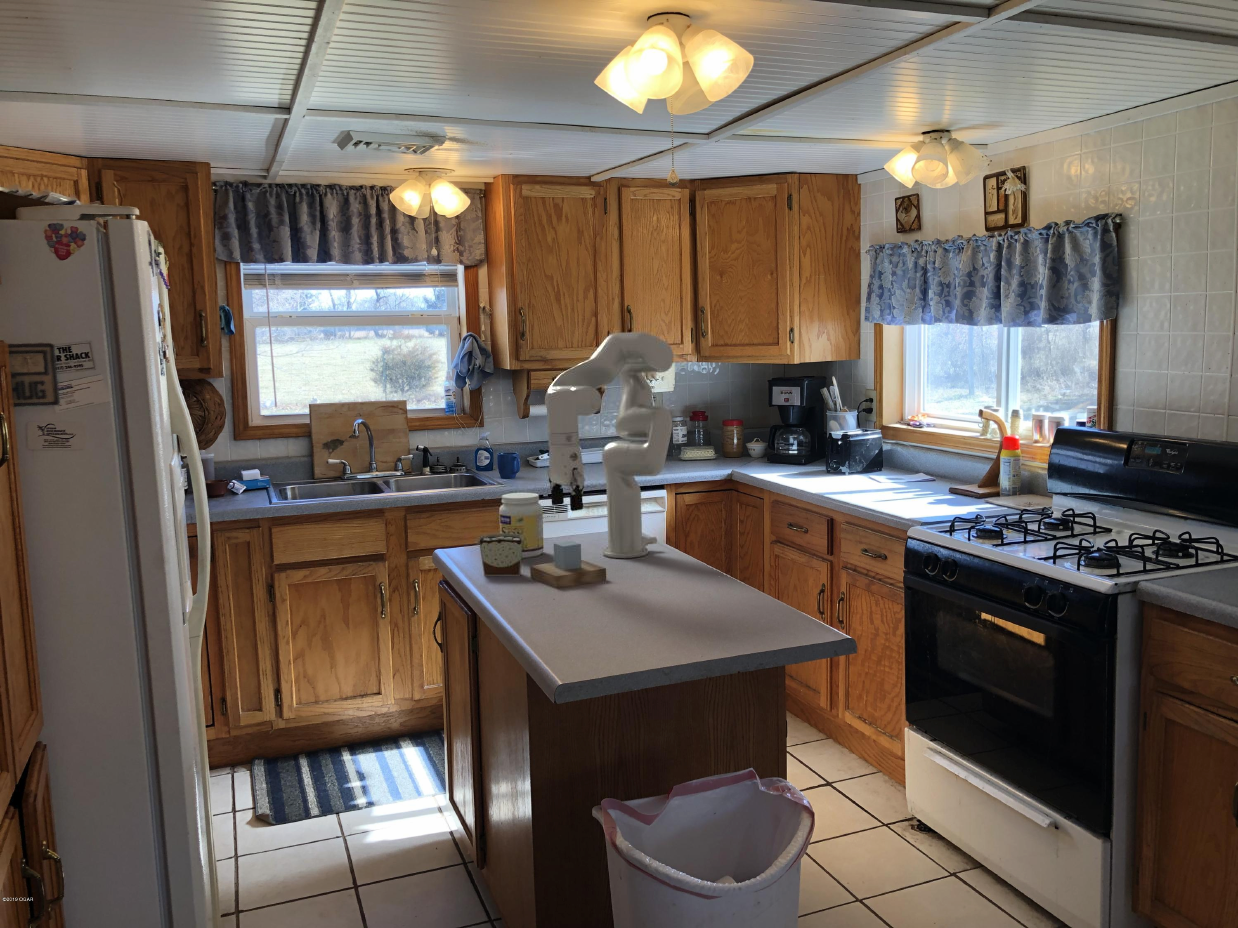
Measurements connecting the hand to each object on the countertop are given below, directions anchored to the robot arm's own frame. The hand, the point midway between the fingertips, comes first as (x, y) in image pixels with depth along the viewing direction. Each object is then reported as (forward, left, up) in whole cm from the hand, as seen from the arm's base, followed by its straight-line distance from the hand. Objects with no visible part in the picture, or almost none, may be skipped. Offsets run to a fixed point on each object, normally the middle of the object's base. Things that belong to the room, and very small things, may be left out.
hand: (567, 507), depth 247 cm
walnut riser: (+1, 0, -18) cm, 18 cm away
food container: (+11, -16, -18) cm, 26 cm away
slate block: (+1, 0, -15) cm, 15 cm away
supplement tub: (-3, -34, -18) cm, 38 cm away
